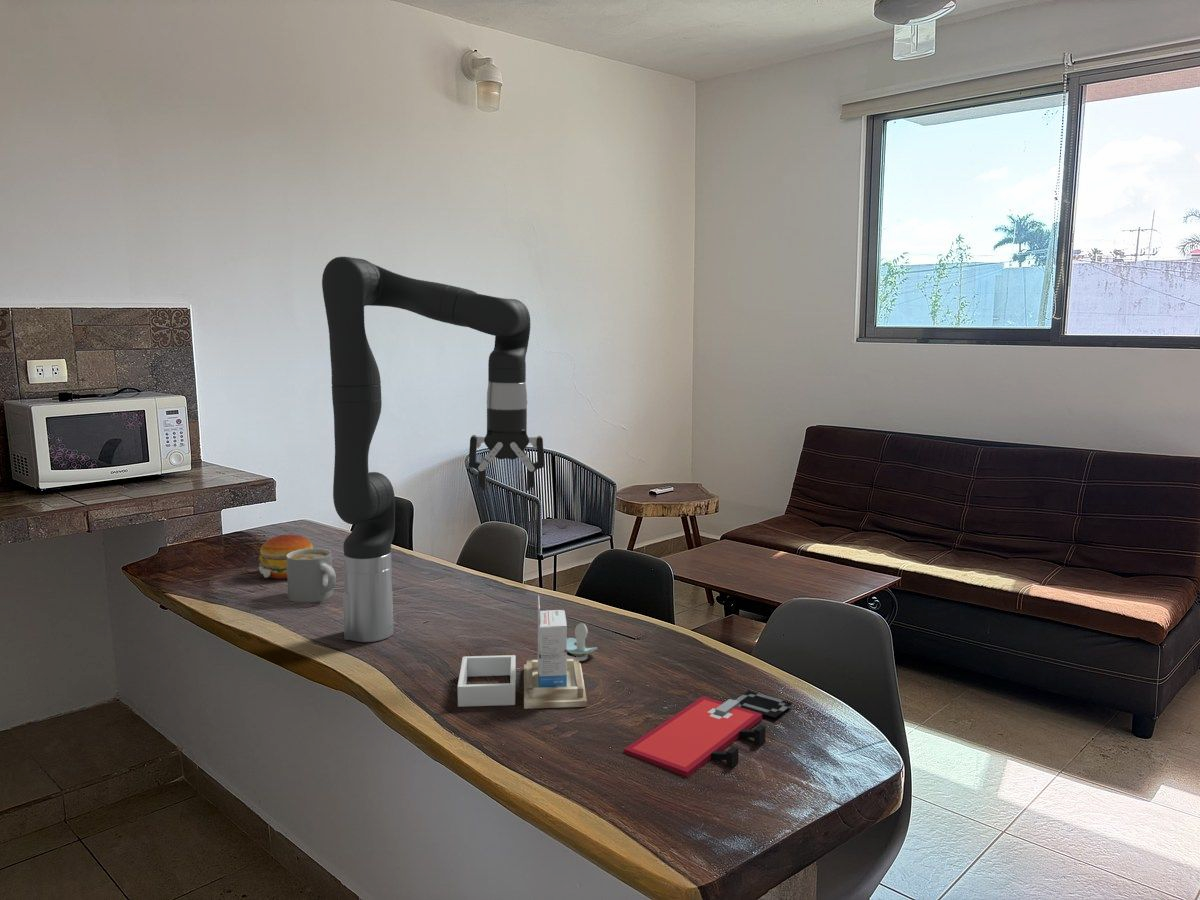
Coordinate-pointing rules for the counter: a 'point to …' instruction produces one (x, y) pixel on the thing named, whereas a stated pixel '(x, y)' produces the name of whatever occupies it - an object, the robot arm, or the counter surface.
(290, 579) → the coffee mug
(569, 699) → the tray
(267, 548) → the burger
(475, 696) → the box
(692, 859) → the counter surface
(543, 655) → the ink box
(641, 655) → the counter surface
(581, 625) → the pacifier
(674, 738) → the red board with handle
